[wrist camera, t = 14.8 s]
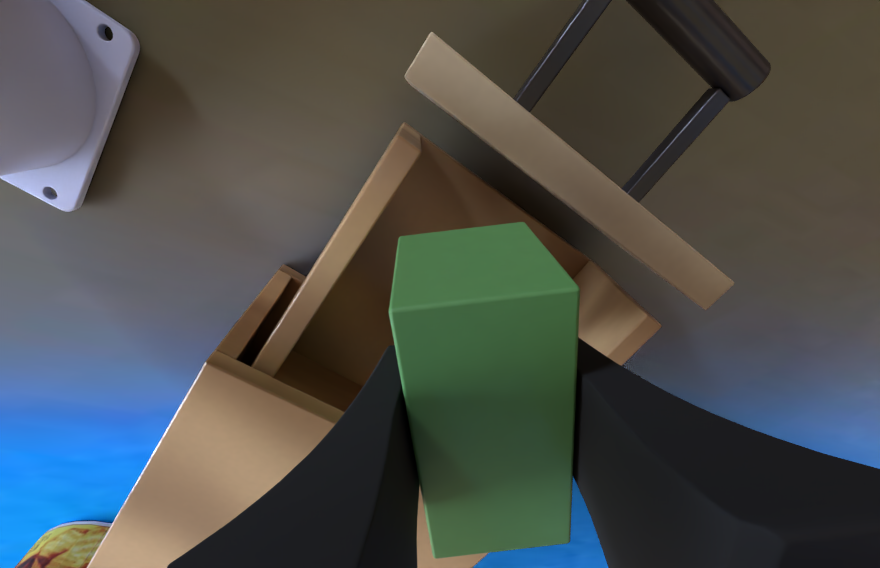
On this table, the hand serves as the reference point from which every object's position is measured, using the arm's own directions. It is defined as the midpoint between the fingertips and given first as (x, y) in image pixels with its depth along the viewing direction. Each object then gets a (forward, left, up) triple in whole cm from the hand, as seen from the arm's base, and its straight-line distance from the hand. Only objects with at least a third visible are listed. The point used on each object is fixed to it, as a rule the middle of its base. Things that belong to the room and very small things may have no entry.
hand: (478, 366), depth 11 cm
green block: (0, 0, -1) cm, 1 cm away
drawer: (0, +2, -8) cm, 9 cm away
